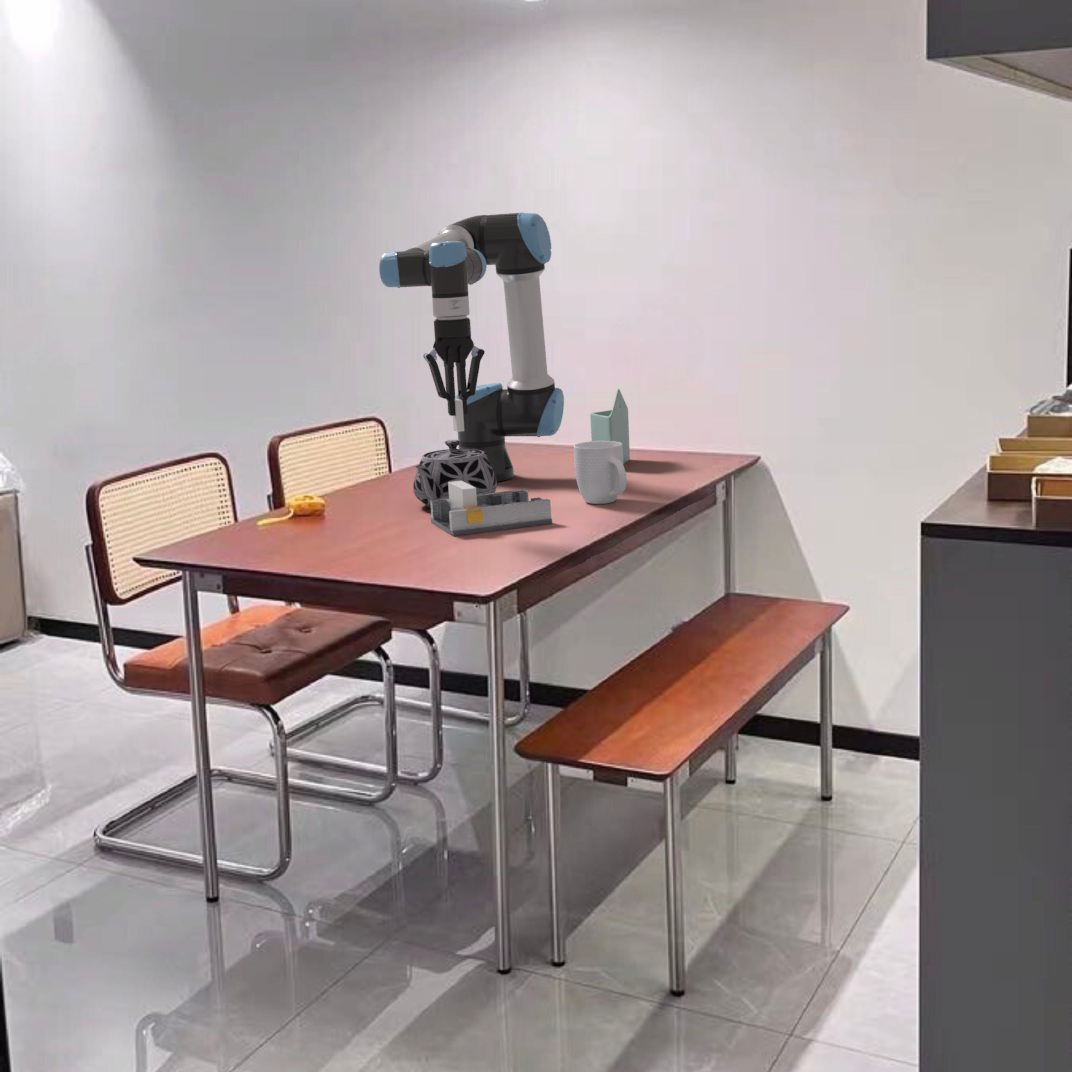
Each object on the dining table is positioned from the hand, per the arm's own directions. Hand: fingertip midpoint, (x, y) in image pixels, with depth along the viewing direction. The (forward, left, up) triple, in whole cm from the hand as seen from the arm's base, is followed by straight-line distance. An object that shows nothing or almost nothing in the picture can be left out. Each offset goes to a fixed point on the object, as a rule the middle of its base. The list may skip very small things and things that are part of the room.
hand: (459, 430), depth 310 cm
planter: (-51, +55, -21) cm, 77 cm away
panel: (0, 0, -20) cm, 20 cm away
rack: (0, +6, -21) cm, 21 cm away
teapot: (-23, +5, -21) cm, 31 cm away
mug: (-7, +35, -21) cm, 41 cm away
